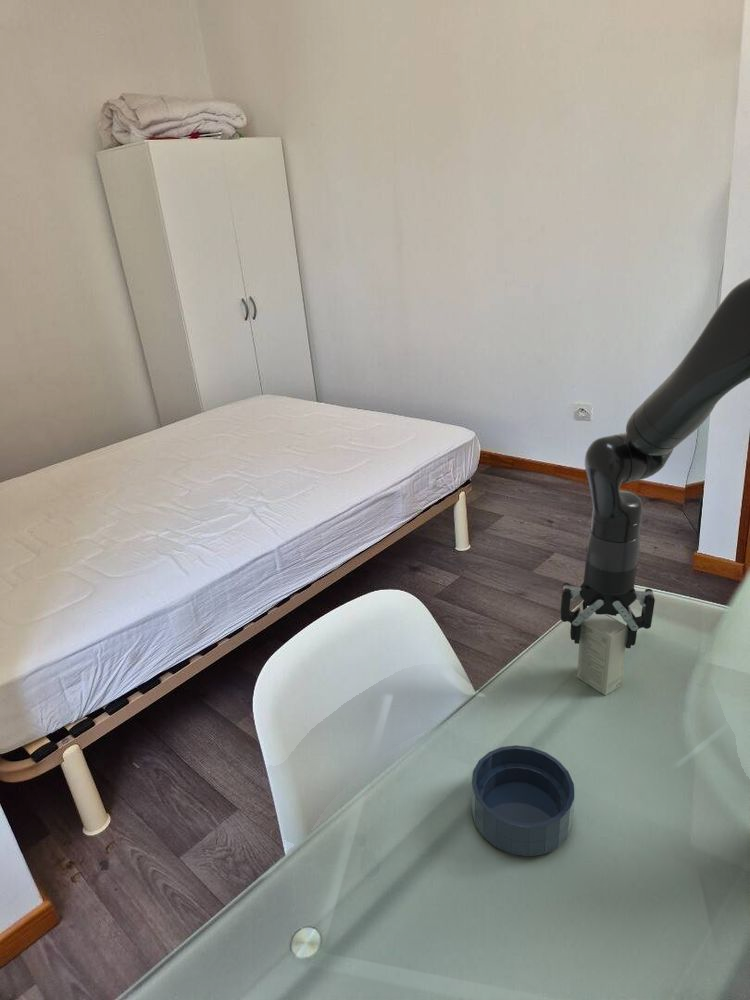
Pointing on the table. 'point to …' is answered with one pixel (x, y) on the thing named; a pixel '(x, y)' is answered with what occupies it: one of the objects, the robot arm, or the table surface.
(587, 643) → the cosmetic box
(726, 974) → the table surface
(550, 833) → the bowl
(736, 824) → the table surface
